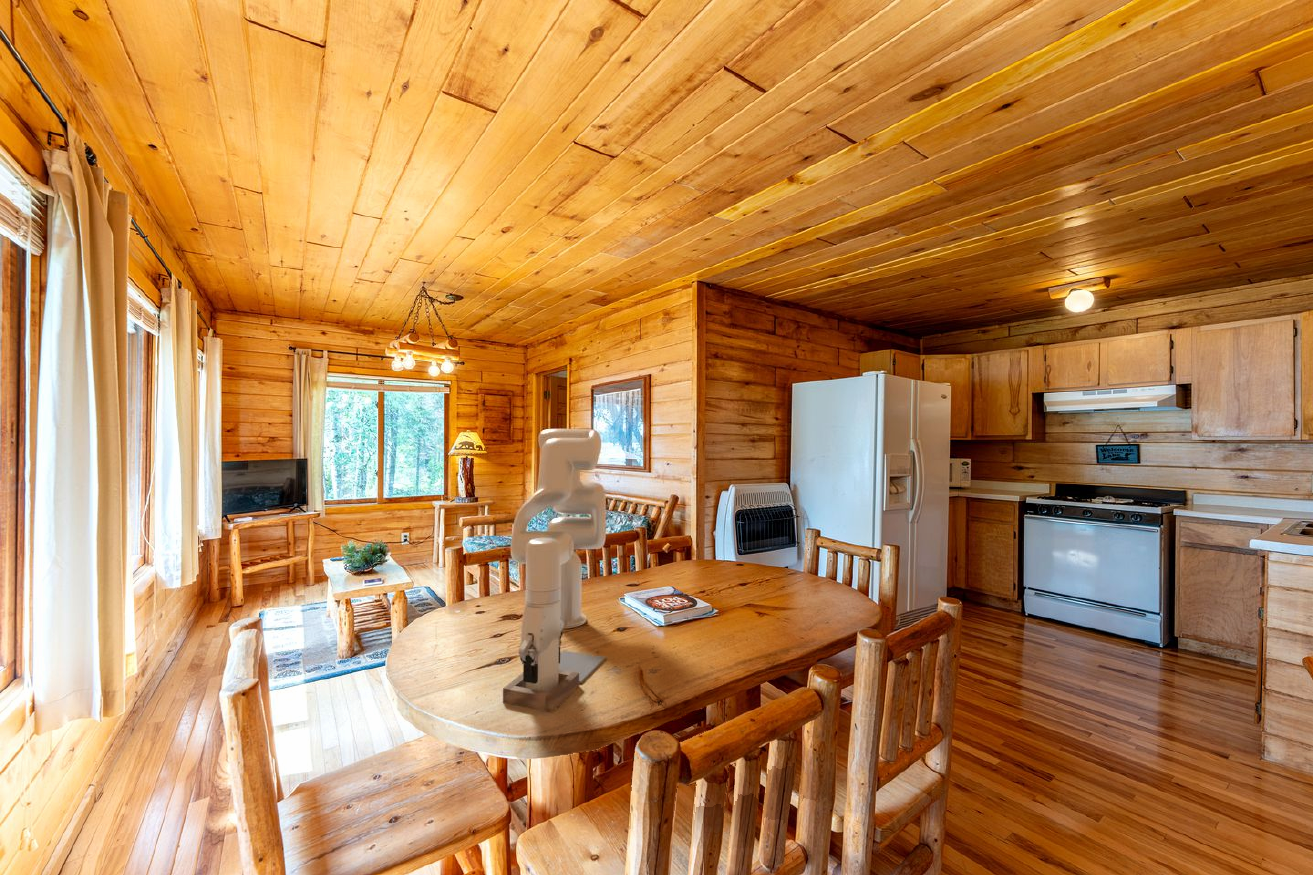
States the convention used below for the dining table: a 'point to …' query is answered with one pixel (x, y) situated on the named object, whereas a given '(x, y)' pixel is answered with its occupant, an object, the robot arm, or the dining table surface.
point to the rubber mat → (579, 663)
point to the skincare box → (547, 668)
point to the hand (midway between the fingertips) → (542, 672)
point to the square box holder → (541, 692)
